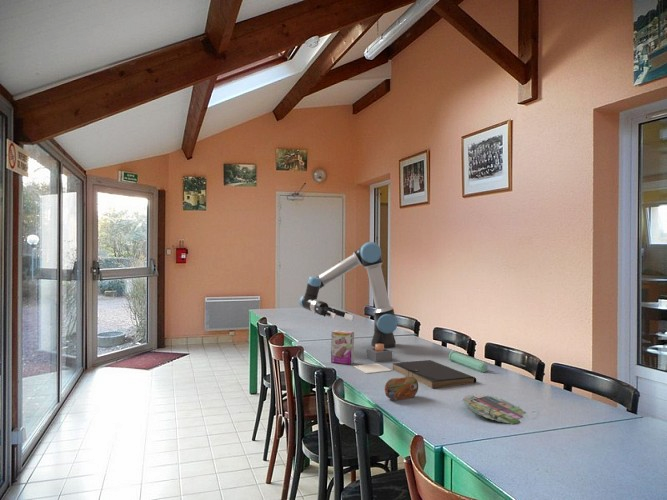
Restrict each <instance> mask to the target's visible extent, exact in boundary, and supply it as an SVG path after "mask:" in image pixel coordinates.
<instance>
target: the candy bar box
mask: <svg viewBox="0 0 667 500" xmlns="http://www.w3.org/2000/svg"><path fill="white" fill-rule="evenodd" d="M330 343H331V344H330V345H331V346H330V347H331V349H330V350H331V352H330V353H331V354H330V357H331V358H330V363H332V364H341V365H352V364H354V361H355V359H354V357H355V331H349V330H348V331H347V330H336V329H335V330H332V331H331V342H330Z"/></svg>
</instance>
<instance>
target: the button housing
mask: <svg viewBox="0 0 667 500" xmlns="http://www.w3.org/2000/svg"><path fill="white" fill-rule="evenodd" d="M366 359H368V360H370V361H373V362H375V363H380V362H381V363H382V362H391V361H393V351H392V350H390V349H389V348H384V351H378V352H377V351H375V347H373V348H372V347H371V348H366Z"/></svg>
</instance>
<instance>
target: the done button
mask: <svg viewBox="0 0 667 500" xmlns="http://www.w3.org/2000/svg"><path fill="white" fill-rule="evenodd" d="M374 348H375V351H377V352H378V351H384V344H375V347H374Z"/></svg>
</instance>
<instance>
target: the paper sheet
mask: <svg viewBox="0 0 667 500" xmlns="http://www.w3.org/2000/svg"><path fill="white" fill-rule="evenodd" d="M353 368H356V369H357V370H359V371H361V372H363V373H365V374H368V375H369V374H374V373H385V371H386V372H391V371H393V369H392V368H388V367H387V366H385V365H383V364H380V363H379V362H375V363H368V364H359V365H353Z"/></svg>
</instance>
